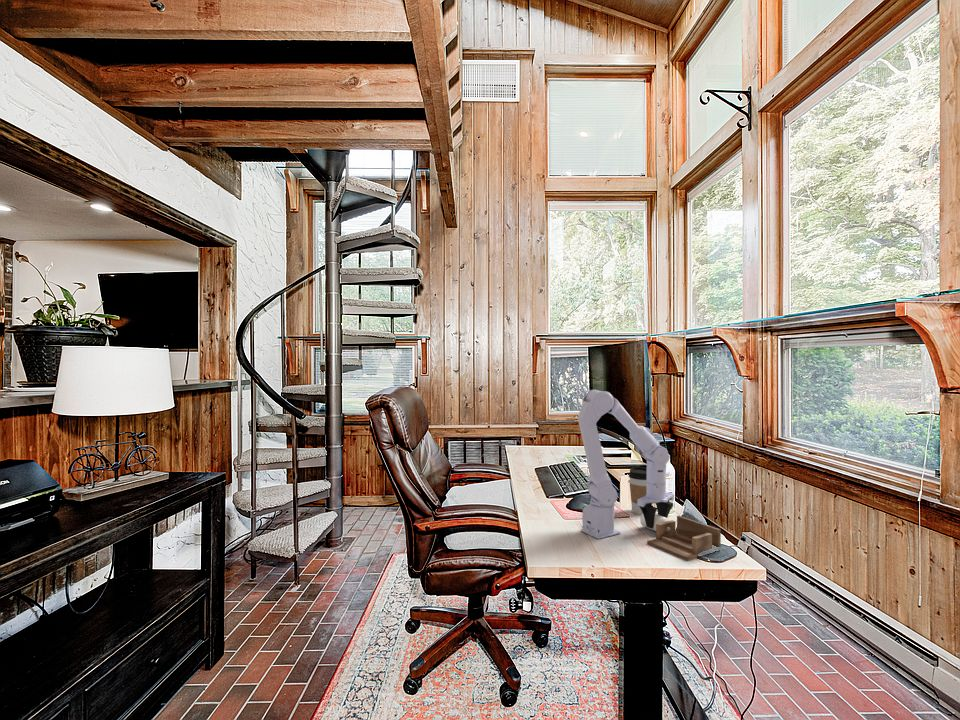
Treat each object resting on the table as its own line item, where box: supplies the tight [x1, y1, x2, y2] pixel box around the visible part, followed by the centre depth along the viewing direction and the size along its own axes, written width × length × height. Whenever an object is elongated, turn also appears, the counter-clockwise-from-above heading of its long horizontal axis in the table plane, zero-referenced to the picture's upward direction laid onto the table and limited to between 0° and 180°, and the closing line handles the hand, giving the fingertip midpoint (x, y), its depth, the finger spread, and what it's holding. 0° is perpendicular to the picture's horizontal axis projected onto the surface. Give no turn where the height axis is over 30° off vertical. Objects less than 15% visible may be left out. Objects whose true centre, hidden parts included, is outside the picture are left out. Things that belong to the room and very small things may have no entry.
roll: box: [640, 513, 672, 532], centre depth 149 cm, size 5×8×5 cm, turn 30°
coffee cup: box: [628, 466, 647, 515], centre depth 167 cm, size 8×8×15 cm
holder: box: [646, 515, 722, 561], centre depth 136 cm, size 14×14×6 cm
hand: (656, 525), depth 149 cm, fingers open, 5 cm apart
